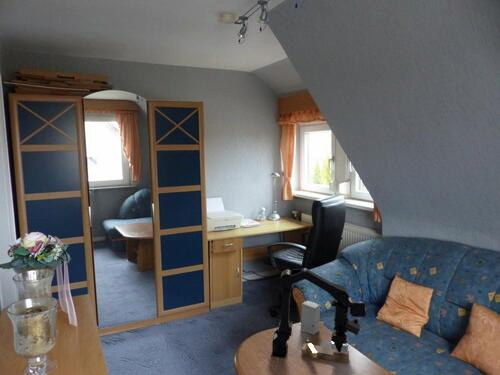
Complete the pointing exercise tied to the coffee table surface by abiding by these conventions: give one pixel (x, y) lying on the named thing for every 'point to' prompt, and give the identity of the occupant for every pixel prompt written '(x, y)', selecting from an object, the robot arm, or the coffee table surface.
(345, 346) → the grey squarish block
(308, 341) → the lever
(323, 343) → the felt pad
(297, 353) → the coffee table surface
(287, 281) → the robot arm
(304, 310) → the skincare box
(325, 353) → the body
